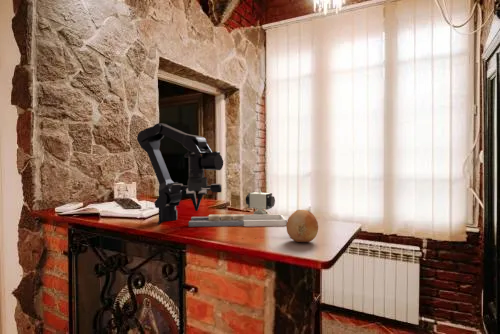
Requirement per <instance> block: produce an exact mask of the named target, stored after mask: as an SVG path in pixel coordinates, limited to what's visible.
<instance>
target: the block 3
mask: <svg viewBox="0 0 500 334" xmlns="http://www.w3.org/2000/svg"><path fill="white" fill-rule="evenodd" d="M243 215H244V213H235V214H234V213H233V214H232V216H233V220H243Z"/></svg>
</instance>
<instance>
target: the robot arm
mask: <svg viewBox="0 0 500 334" xmlns="http://www.w3.org/2000/svg"><path fill="white" fill-rule="evenodd" d="M164 137H167V138H169V139H171V140H174V141H176V142H177V143H180V144H181V146H183V147H184V148H185V149H186V150H187V153H185V154H184V155H183V157H184V158H188V179H187V185H184V184H183V183H179V182H177V181H176V182H174V181H173V180H172V178H171V176H170V173H169V169H168V168H167V165H166V163H165V160H164V157H163V155H162V152H161V150H160V148H161V147H160V146H161V140H162V139H164ZM136 140H137V142H138V144H139V146H140V148H141V149H142V150H143V151H144V152H145V153H146V154H147V157H148V158H149V161H150V163H151V166H152V168H153V171H154V173H155V176H156V177H155V178H156V179H157V182H158V184H159V185H158V186H159V187H158V191H157V192H158V197H157V198H156V200H155V201H154V203H153V204H154V208H156V209H158V221H157V224H162V223H163V222H172V221H177V220H178V209H177V206H179V205H180V202H181V200H182V197H183V191H186V193H185V195H187V196H189V198H190V199H191V201H192V205H193V208H194V210H195V212H198V211H199V208H200V204H201V202H202V199H203V196H204V195H207V193H208V191H211V192H212V193H222V190H223V189H222V188H223V187H222V186H223V185H222V184H221V183H211V184H210V185H208V177H205V170H206V171H221V170H222V169H223V167H224V160H223V157H222V155H221V151H212V149H211V148H210V146H209V144H208V143H207V139H206V138H205V137H204V136H201V135H194V134H189V133H186V132H184V131H182V130H179V129H177V128H175V127H172V126H170V125H168V124H167V123H163V122H162V123H160V122H159V123H158V122H157V123H156V124H154V125H152V126H150V127H147V128H144V129H142V130H140V131H139V132H138V134H137V136H136ZM196 191H197V192H198V193H197V195H196Z"/></svg>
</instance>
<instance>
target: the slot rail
mask: <svg viewBox="0 0 500 334" xmlns="http://www.w3.org/2000/svg"><path fill="white" fill-rule="evenodd" d="M243 226H244V220H233V215H231V220H221V215H220V220H209V216H191V218H190V220H189V221H188V227H190V228H192V227H199V228H200V227H243ZM244 227H245V226H244Z"/></svg>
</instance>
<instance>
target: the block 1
mask: <svg viewBox="0 0 500 334" xmlns="http://www.w3.org/2000/svg"><path fill="white" fill-rule="evenodd" d="M220 216H221V214H220V213H219V214H209V215H208V217H209V220H220Z"/></svg>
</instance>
